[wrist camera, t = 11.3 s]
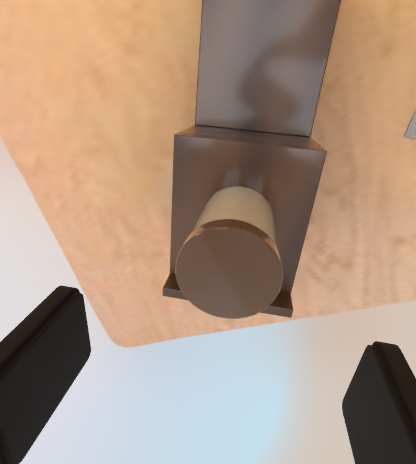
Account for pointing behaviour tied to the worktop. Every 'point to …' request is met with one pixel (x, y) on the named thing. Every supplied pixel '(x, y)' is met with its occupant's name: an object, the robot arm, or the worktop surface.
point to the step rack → (255, 121)
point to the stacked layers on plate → (411, 128)
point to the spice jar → (231, 256)
